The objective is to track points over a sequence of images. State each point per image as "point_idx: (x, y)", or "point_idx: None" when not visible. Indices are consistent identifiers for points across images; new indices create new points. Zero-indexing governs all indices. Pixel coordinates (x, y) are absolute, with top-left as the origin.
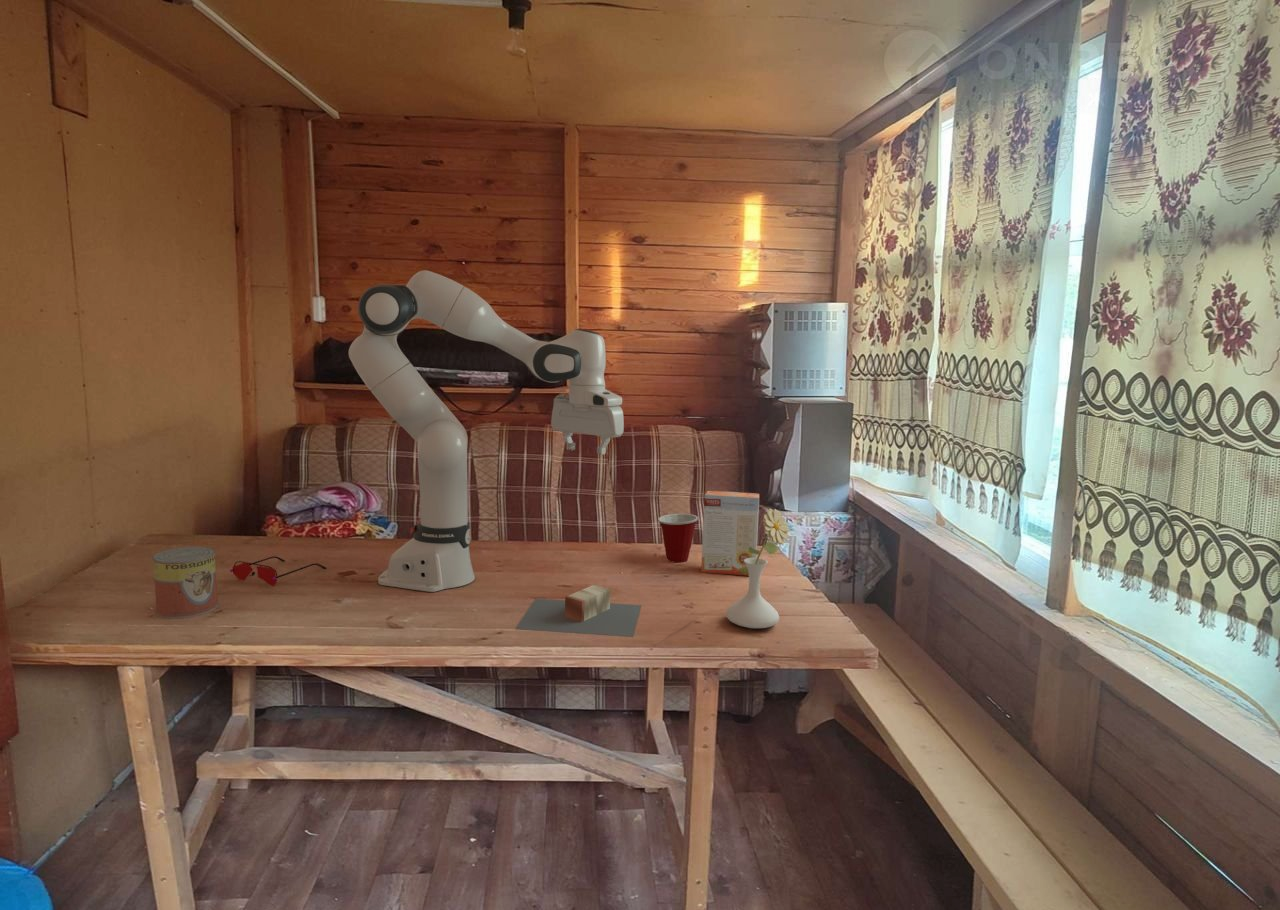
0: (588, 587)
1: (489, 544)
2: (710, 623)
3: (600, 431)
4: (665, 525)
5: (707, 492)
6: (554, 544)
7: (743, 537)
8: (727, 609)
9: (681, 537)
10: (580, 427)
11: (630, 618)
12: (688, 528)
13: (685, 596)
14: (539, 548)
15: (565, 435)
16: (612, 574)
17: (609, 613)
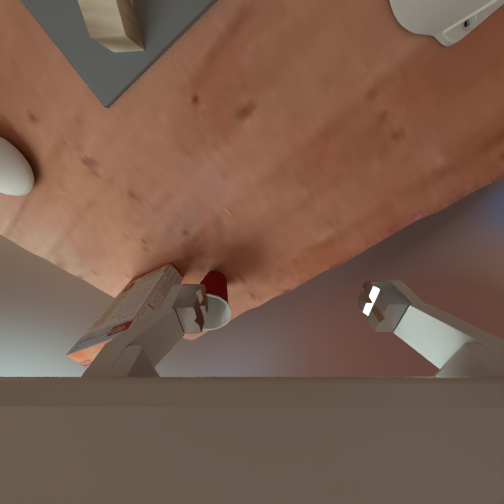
0: (116, 7)
1: (444, 191)
2: (22, 126)
3: (46, 430)
4: (209, 293)
5: None
6: (357, 244)
7: (115, 304)
8: (11, 152)
9: None
10: (356, 465)
11: (61, 35)
12: None
13: (119, 189)
14: (366, 221)
15: (485, 347)
16: (231, 198)
17: None
